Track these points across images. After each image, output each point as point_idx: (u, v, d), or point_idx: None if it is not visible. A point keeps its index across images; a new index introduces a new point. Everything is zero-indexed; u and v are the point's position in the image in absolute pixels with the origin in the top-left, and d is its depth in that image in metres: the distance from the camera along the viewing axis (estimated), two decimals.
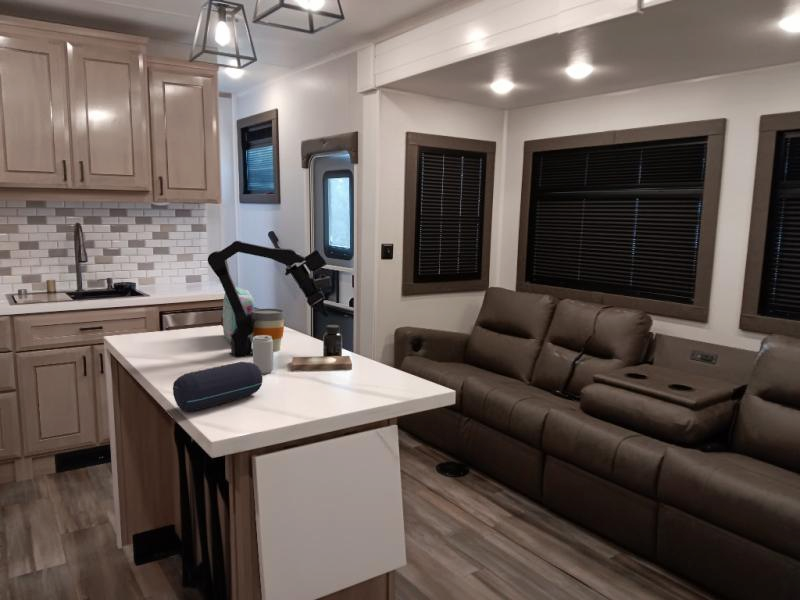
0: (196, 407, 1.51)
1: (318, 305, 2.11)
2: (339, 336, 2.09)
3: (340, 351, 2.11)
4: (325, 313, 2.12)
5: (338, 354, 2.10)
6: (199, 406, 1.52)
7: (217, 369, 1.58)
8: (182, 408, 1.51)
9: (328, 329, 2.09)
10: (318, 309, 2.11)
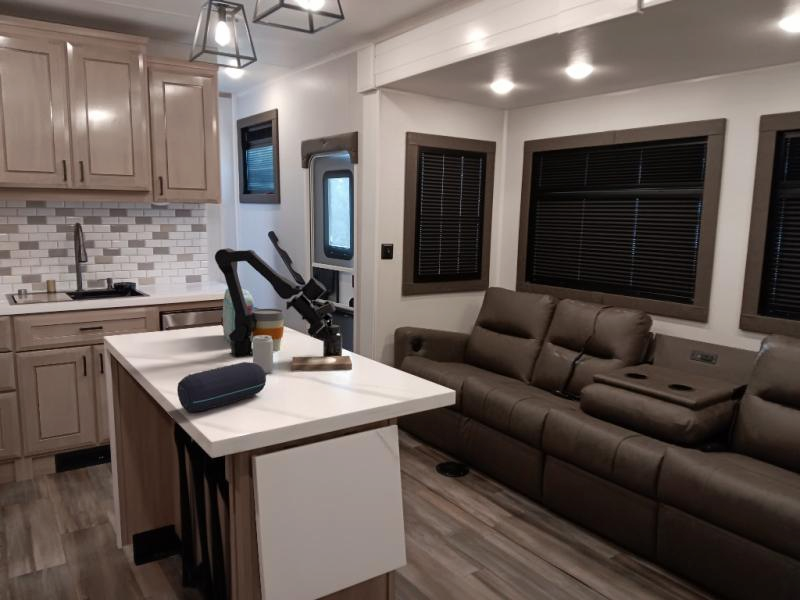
0: (201, 408, 1.51)
1: (322, 333, 2.06)
2: (339, 336, 2.09)
3: (340, 351, 2.11)
4: (331, 340, 2.07)
5: (338, 354, 2.10)
6: (204, 407, 1.51)
7: (221, 369, 1.58)
8: (187, 409, 1.51)
9: (328, 329, 2.09)
10: (323, 337, 2.06)
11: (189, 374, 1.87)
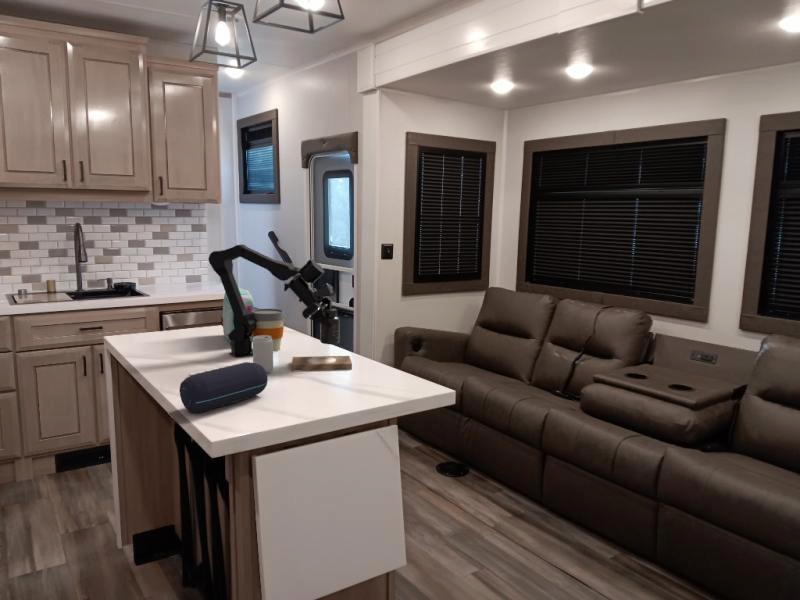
0: (204, 408, 1.51)
1: (318, 316, 2.02)
2: (336, 320, 2.04)
3: (337, 335, 2.06)
4: (327, 323, 2.02)
5: (334, 339, 2.05)
6: (207, 407, 1.51)
7: (223, 370, 1.57)
8: (190, 409, 1.50)
9: (325, 312, 2.04)
10: (319, 320, 2.02)
11: (189, 374, 1.87)
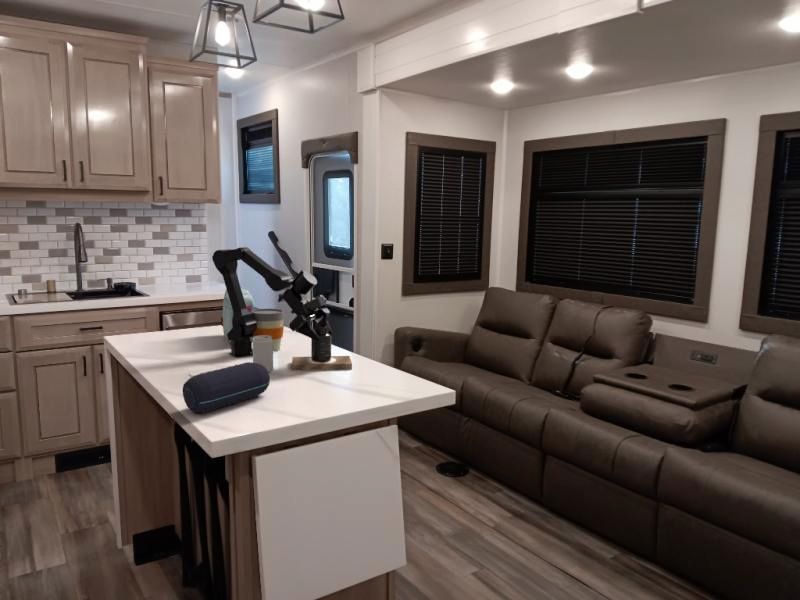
0: (208, 408, 1.50)
1: (305, 329, 1.95)
2: (325, 337, 1.97)
3: (327, 353, 1.98)
4: (315, 337, 1.95)
5: (323, 357, 1.98)
6: (210, 407, 1.51)
7: (226, 370, 1.57)
8: (193, 410, 1.50)
9: (315, 329, 1.98)
10: (306, 334, 1.95)
11: (189, 374, 1.87)
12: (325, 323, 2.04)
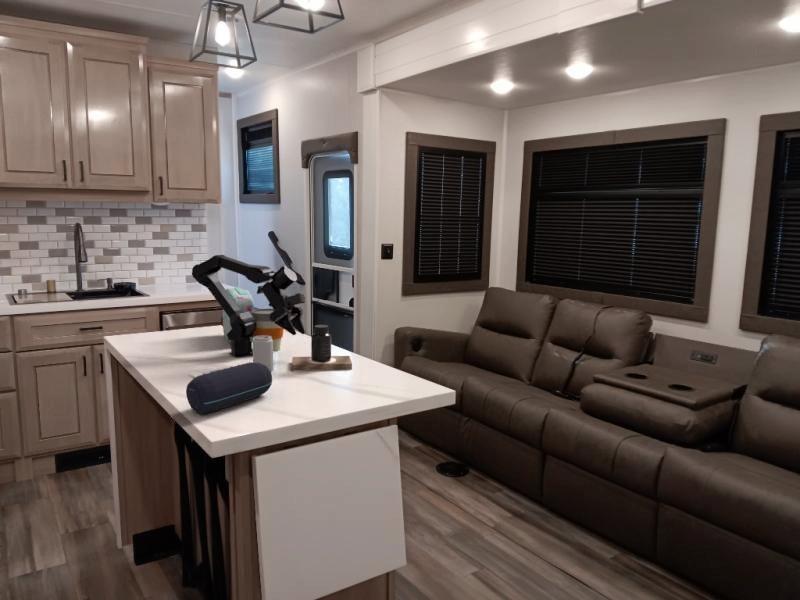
0: (212, 409, 1.50)
1: (284, 322, 1.99)
2: (325, 337, 1.97)
3: (327, 353, 1.98)
4: (292, 331, 1.99)
5: (323, 357, 1.98)
6: (215, 408, 1.51)
7: (229, 370, 1.57)
8: (197, 410, 1.50)
9: (315, 329, 1.98)
10: (284, 326, 1.98)
11: (189, 374, 1.87)
12: (299, 321, 2.09)
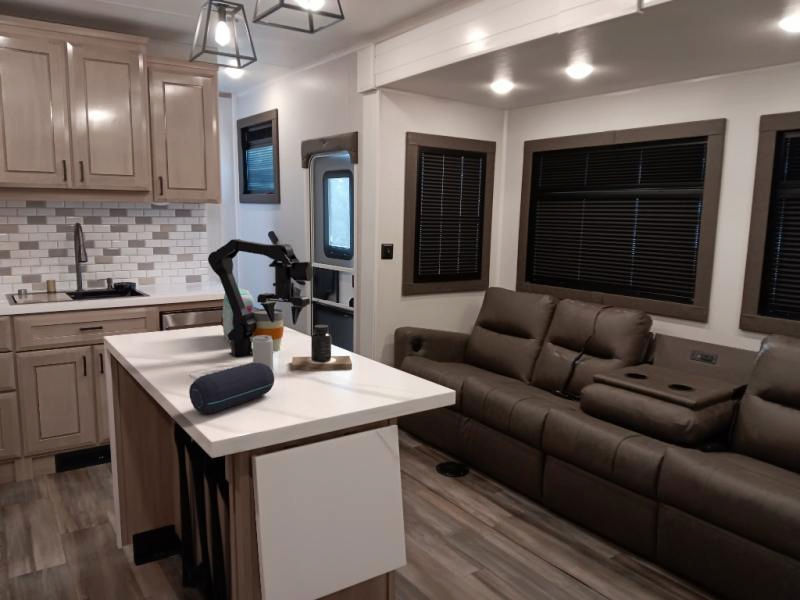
0: (215, 409, 1.50)
1: (296, 310, 2.04)
2: (325, 337, 1.97)
3: (327, 353, 1.98)
4: (295, 320, 2.06)
5: (323, 357, 1.98)
6: (218, 408, 1.51)
7: (232, 370, 1.57)
8: (201, 411, 1.50)
9: (315, 329, 1.98)
10: (295, 314, 2.04)
11: (189, 374, 1.87)
12: (273, 309, 2.10)
